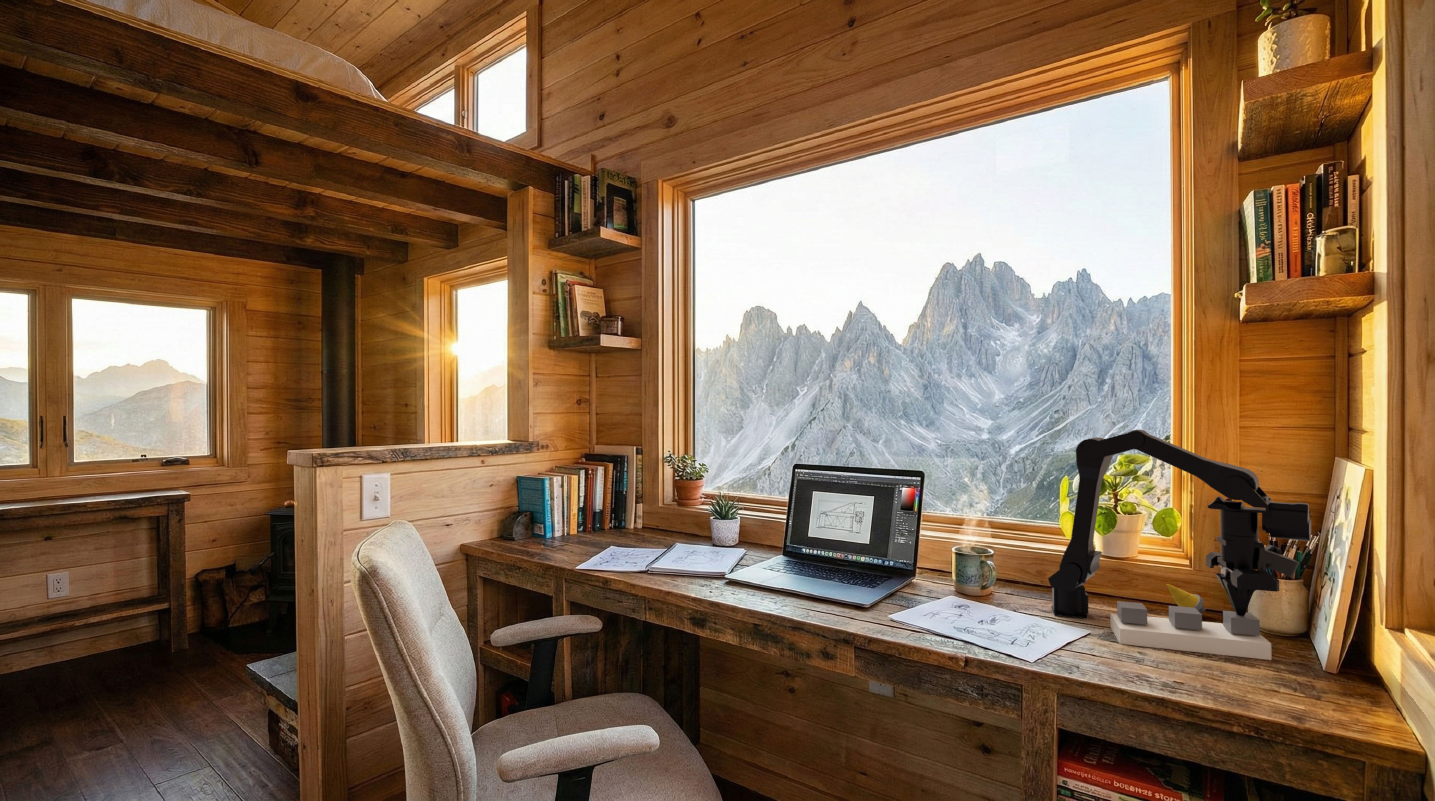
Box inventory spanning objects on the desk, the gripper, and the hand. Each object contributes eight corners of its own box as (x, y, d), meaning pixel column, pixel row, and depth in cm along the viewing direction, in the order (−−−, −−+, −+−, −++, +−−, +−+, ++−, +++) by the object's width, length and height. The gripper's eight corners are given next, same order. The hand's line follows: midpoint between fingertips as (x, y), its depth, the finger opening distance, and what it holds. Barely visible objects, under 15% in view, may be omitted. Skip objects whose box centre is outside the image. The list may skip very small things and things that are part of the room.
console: (1120, 643, 129) (1119, 628, 129) (1110, 627, 139) (1110, 612, 139) (1271, 659, 121) (1271, 643, 121) (1250, 641, 130) (1250, 625, 130)
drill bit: (1210, 623, 142) (1172, 590, 143) (1188, 626, 146) (1152, 594, 148) (1217, 604, 144) (1180, 572, 146) (1196, 608, 149) (1160, 576, 150)
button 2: (1231, 649, 125) (1231, 617, 125) (1223, 641, 129) (1223, 610, 129) (1259, 652, 123) (1259, 620, 123) (1250, 643, 128) (1250, 612, 128)
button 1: (1121, 637, 132) (1121, 607, 132) (1117, 630, 136) (1117, 601, 136) (1147, 640, 130) (1147, 609, 130) (1142, 632, 134) (1142, 603, 134)
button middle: (1175, 642, 128) (1174, 612, 128) (1169, 635, 132) (1168, 605, 132) (1202, 645, 127) (1201, 614, 127) (1195, 637, 131) (1194, 607, 131)
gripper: (1315, 547, 115) (1316, 636, 115) (1271, 527, 132) (1272, 605, 132) (1237, 542, 119) (1238, 629, 119) (1204, 524, 136) (1205, 599, 136)
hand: (1240, 615), depth 126 cm, fingers closed, pressing on button 2
